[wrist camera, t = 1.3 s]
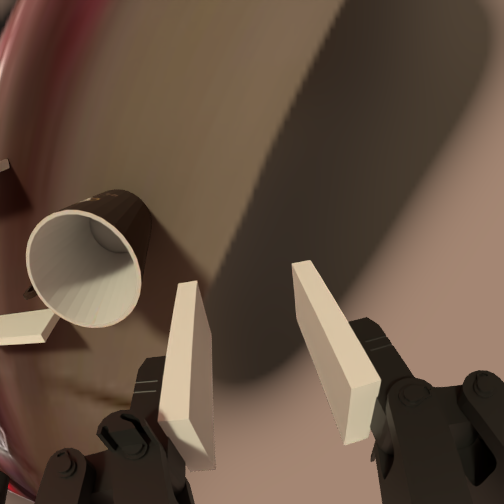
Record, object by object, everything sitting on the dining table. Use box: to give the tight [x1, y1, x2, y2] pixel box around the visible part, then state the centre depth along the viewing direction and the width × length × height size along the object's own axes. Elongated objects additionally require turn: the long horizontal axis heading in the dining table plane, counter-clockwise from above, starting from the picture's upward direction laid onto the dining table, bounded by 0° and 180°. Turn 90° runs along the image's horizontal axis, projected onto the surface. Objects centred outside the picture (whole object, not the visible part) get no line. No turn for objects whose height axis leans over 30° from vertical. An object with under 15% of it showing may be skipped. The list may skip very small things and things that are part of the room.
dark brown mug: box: [23, 190, 151, 328], centre depth 23 cm, size 12×9×10 cm
